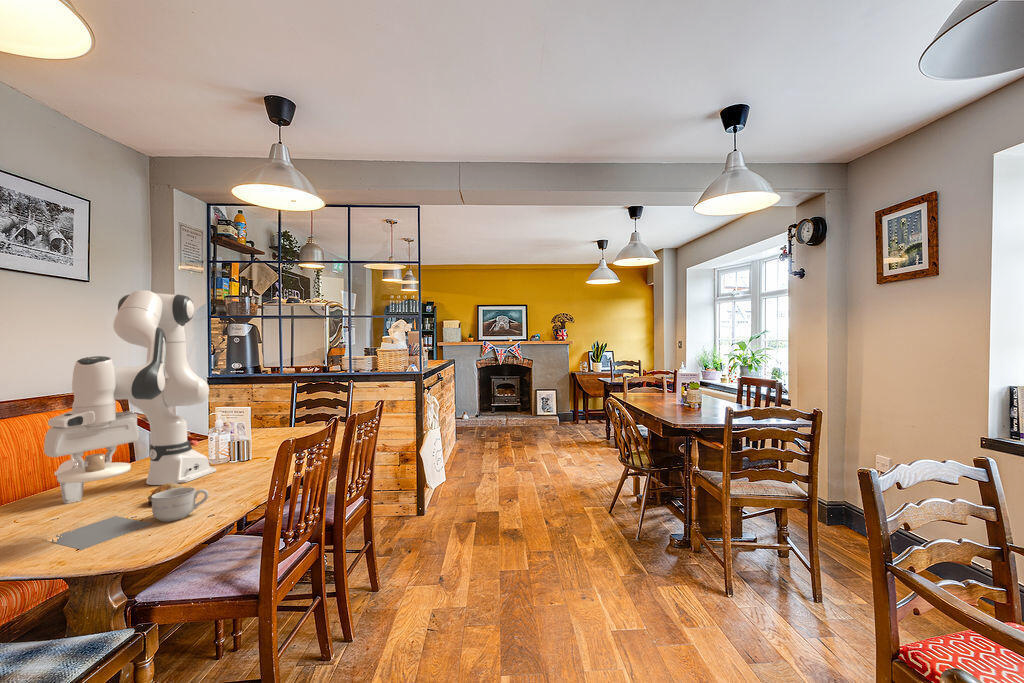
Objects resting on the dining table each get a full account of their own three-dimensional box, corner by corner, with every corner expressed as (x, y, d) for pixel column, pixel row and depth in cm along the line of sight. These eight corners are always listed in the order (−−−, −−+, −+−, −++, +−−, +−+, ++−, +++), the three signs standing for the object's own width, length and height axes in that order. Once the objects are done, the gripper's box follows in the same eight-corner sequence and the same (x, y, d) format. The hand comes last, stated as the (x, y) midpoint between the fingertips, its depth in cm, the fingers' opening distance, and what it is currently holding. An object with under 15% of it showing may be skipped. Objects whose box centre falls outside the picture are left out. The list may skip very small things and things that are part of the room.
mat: (115, 517, 136) (115, 516, 136) (153, 525, 131) (153, 523, 131) (41, 541, 120) (41, 539, 120) (81, 551, 115) (81, 549, 115)
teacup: (143, 527, 129) (143, 499, 129) (162, 513, 140) (161, 487, 140) (199, 522, 133) (199, 494, 133) (213, 508, 143) (213, 483, 143)
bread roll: (183, 514, 148) (195, 489, 151) (147, 508, 141) (161, 483, 144) (176, 506, 155) (187, 483, 157) (141, 501, 148) (154, 476, 150)
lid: (109, 464, 135) (109, 447, 135) (143, 469, 130) (143, 451, 130) (43, 479, 121) (43, 460, 121) (78, 485, 116) (78, 465, 115)
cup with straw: (49, 503, 148) (48, 442, 148) (84, 494, 156) (84, 437, 156) (61, 507, 144) (60, 445, 144) (97, 498, 153) (96, 439, 152)
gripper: (129, 409, 136) (130, 454, 136) (40, 421, 117) (40, 474, 117) (143, 410, 134) (144, 456, 134) (54, 422, 114) (55, 477, 115)
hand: (95, 465), depth 125 cm, fingers closed on lid, 4 cm apart
